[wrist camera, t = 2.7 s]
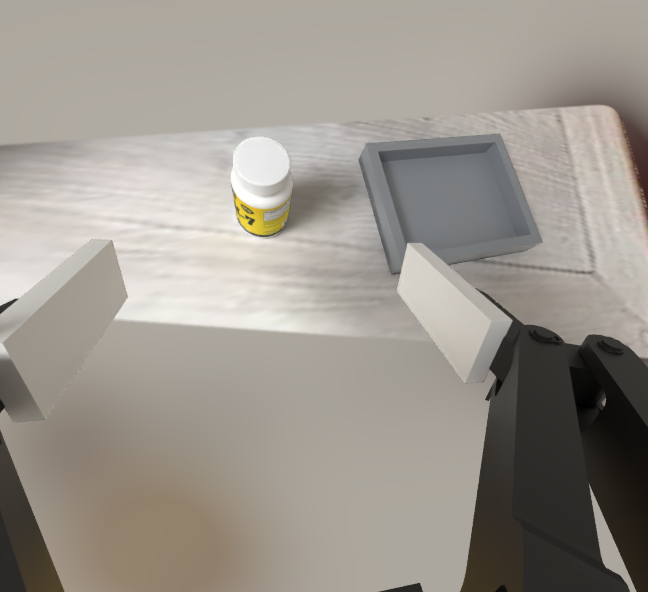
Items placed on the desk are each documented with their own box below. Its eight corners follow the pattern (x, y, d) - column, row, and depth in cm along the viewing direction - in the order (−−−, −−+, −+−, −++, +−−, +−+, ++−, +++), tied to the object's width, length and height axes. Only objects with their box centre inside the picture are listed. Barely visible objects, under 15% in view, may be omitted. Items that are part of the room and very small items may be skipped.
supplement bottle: (227, 206, 30) (214, 143, 21) (271, 187, 31) (274, 121, 23) (252, 248, 29) (248, 200, 21) (296, 227, 30) (308, 174, 22)
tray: (391, 274, 31) (401, 266, 29) (358, 160, 33) (366, 143, 31) (523, 251, 35) (542, 242, 32) (485, 149, 37) (500, 133, 35)
